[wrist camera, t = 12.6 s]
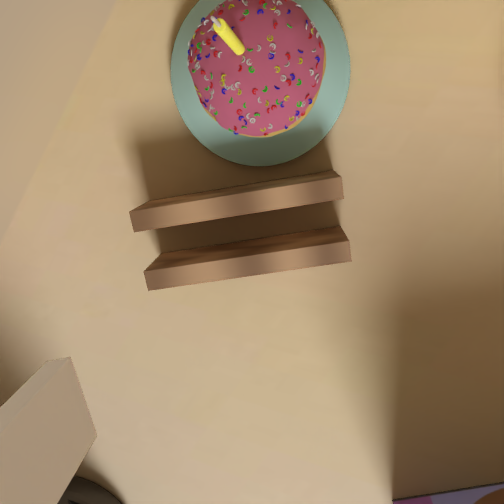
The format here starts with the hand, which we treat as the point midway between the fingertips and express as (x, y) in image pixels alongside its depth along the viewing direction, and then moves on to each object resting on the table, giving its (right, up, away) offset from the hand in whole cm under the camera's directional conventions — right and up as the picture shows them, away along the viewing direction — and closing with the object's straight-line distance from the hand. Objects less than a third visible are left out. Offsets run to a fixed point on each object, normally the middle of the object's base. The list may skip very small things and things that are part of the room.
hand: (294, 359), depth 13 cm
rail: (-2, +8, +23) cm, 25 cm away
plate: (-1, +16, +21) cm, 26 cm away
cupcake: (-1, +16, +20) cm, 26 cm away
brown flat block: (-1, +3, +24) cm, 25 cm away
